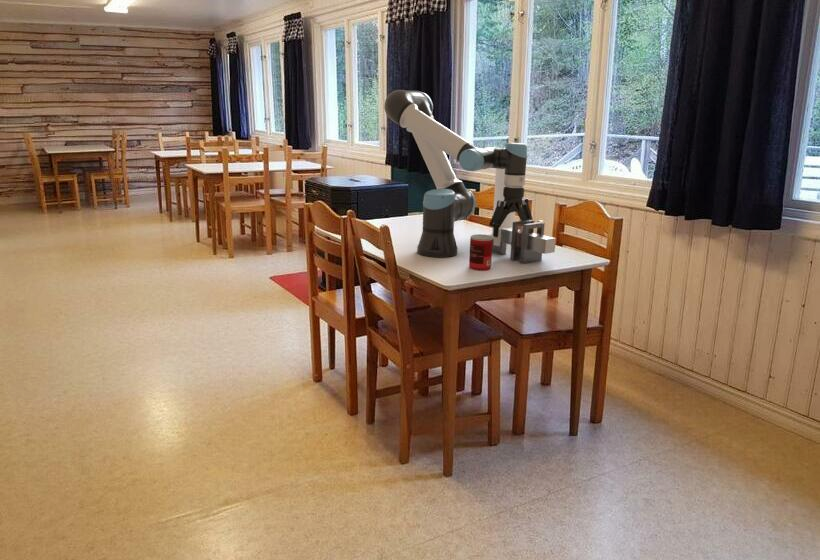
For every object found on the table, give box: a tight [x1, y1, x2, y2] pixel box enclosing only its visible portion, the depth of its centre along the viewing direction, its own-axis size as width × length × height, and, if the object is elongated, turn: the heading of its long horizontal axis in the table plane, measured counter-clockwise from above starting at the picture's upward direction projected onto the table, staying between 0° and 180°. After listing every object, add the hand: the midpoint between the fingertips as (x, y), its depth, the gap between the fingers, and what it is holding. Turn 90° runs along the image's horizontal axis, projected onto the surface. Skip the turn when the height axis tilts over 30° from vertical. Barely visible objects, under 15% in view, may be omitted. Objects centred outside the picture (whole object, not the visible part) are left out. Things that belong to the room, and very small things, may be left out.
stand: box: [492, 236, 508, 255], centre depth 238 cm, size 2×11×5 cm, turn 36°
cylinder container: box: [491, 168, 516, 235], centre depth 266 cm, size 9×9×30 cm
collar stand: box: [509, 219, 546, 265], centre depth 224 cm, size 12×7×14 cm, turn 126°
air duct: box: [500, 228, 557, 255], centre depth 224 cm, size 22×5×5 cm, turn 36°
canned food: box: [468, 234, 494, 271], centre depth 212 cm, size 8×8×11 cm
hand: (510, 243), depth 231 cm, fingers open, 13 cm apart
